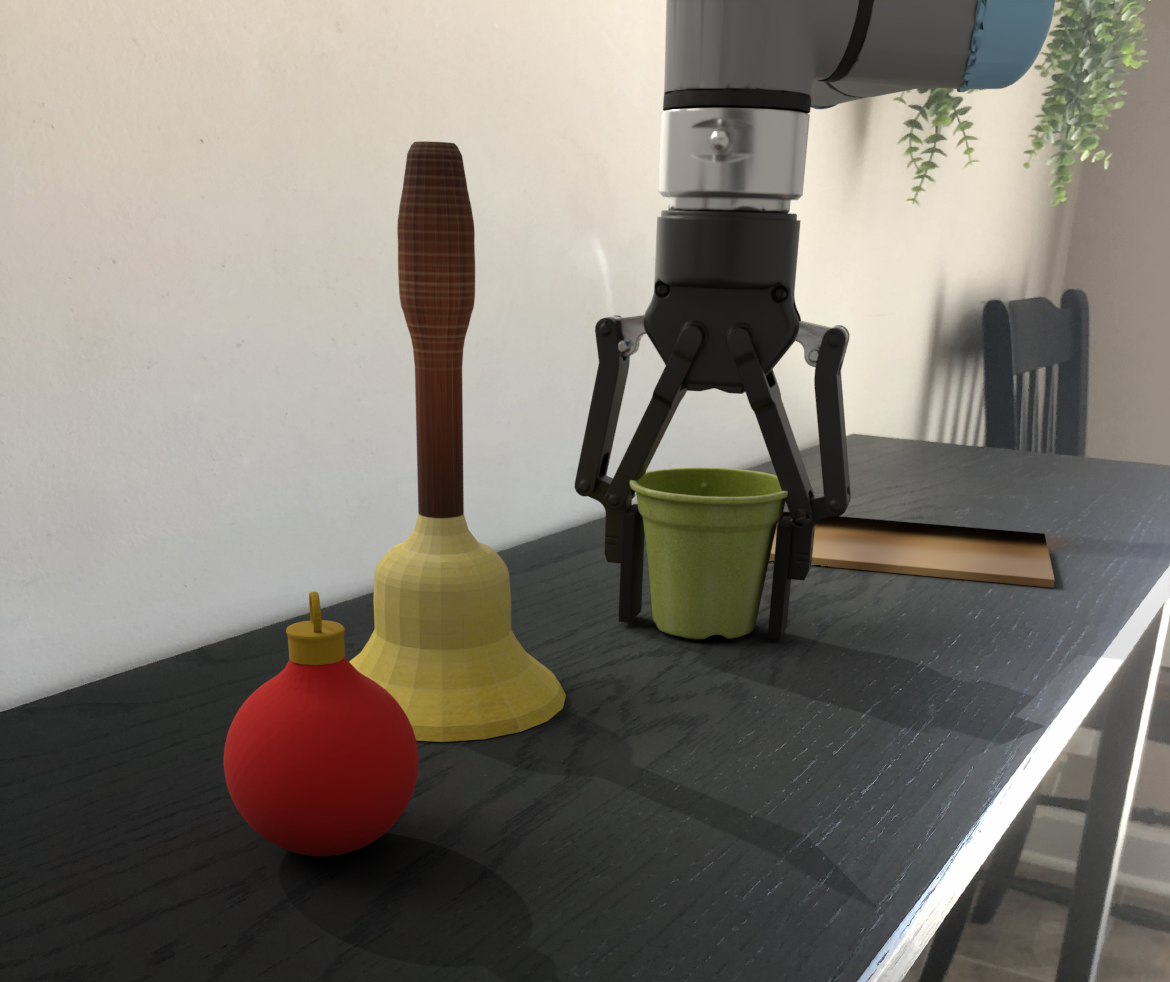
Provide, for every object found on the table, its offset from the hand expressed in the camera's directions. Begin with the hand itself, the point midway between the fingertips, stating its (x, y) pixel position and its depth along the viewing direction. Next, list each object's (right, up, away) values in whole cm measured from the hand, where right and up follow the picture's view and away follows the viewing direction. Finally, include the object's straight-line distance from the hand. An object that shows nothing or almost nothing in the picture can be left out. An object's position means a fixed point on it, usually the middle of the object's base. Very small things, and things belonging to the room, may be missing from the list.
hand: (702, 623), depth 75 cm
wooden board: (+17, +9, +22) cm, 29 cm away
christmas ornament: (-17, -12, -27) cm, 34 cm away
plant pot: (0, 0, 0) cm, 0 cm away
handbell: (-14, -5, -11) cm, 19 cm away
